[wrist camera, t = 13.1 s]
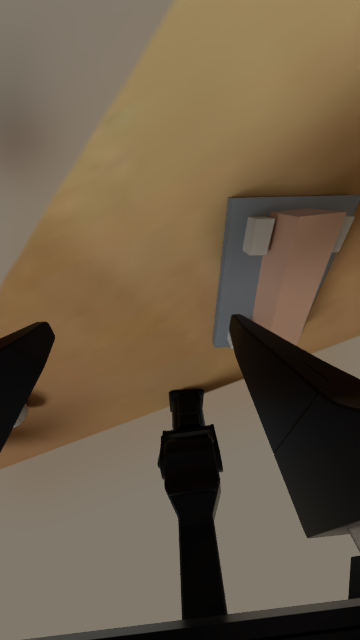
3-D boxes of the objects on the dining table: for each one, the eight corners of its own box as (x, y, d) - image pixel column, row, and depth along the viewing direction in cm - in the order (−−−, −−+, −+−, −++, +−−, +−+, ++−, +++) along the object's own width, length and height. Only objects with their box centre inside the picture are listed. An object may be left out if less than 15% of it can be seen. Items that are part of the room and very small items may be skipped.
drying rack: (289, 336, 28) (303, 352, 25) (212, 340, 28) (217, 357, 25) (348, 194, 18) (384, 194, 15) (228, 197, 17) (240, 198, 14)
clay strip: (272, 338, 26) (290, 362, 22) (248, 341, 26) (261, 365, 22) (307, 208, 17) (346, 211, 13) (269, 212, 17) (299, 216, 13)
